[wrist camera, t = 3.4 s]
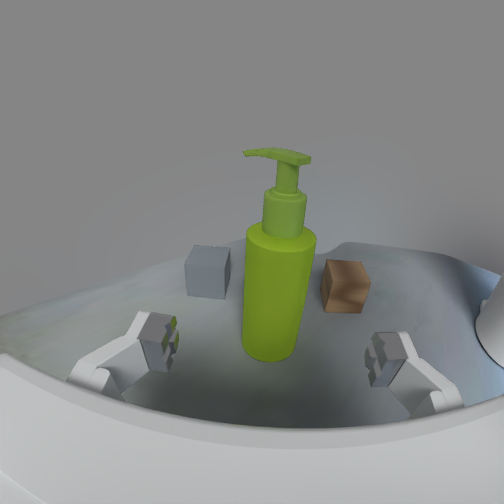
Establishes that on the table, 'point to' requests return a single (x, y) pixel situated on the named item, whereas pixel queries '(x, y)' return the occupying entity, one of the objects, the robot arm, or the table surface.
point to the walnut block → (344, 286)
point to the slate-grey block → (208, 272)
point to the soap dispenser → (277, 263)
